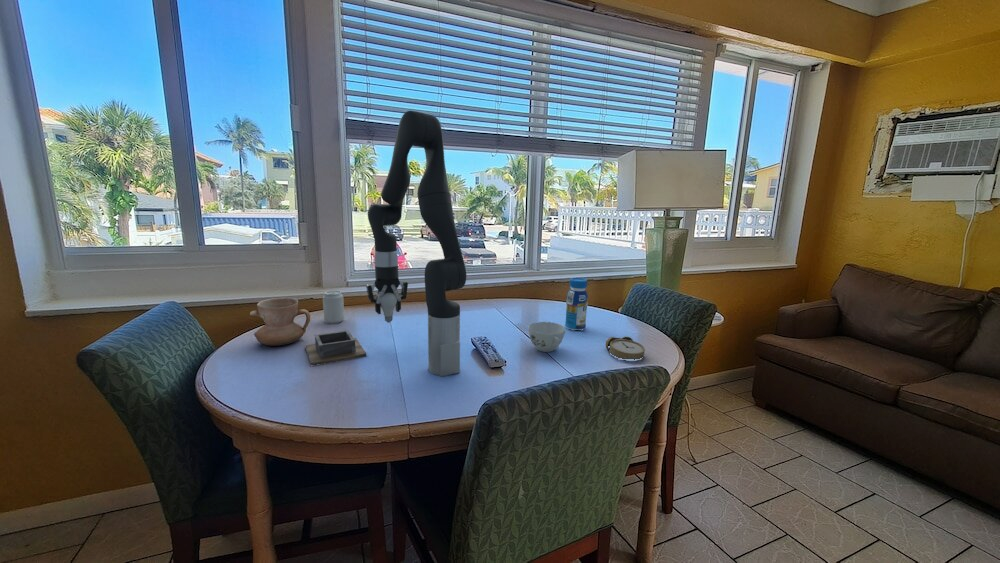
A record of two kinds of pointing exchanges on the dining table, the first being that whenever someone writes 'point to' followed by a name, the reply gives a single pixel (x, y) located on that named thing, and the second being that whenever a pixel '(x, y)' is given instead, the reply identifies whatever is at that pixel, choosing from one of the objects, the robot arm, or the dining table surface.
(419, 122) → the robot arm
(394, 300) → the lightbulb
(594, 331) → the dining table surface
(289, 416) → the dining table surface
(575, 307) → the beverage bottle
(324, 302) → the can
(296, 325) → the ceramic jug
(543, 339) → the teacup
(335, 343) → the socket
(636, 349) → the alarm clock
